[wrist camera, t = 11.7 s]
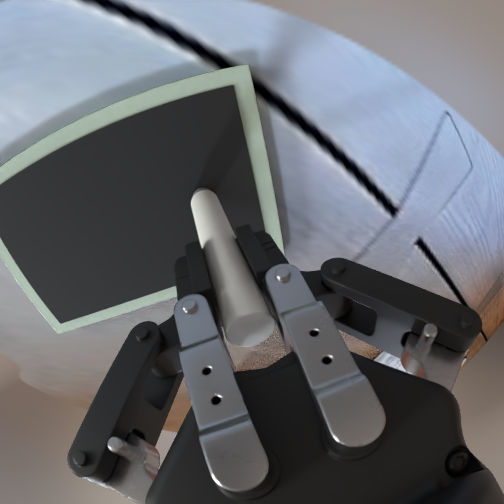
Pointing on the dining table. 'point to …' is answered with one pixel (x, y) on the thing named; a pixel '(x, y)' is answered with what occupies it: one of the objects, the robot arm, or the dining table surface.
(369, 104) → the dining table surface
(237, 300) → the stylus
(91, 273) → the tablet
